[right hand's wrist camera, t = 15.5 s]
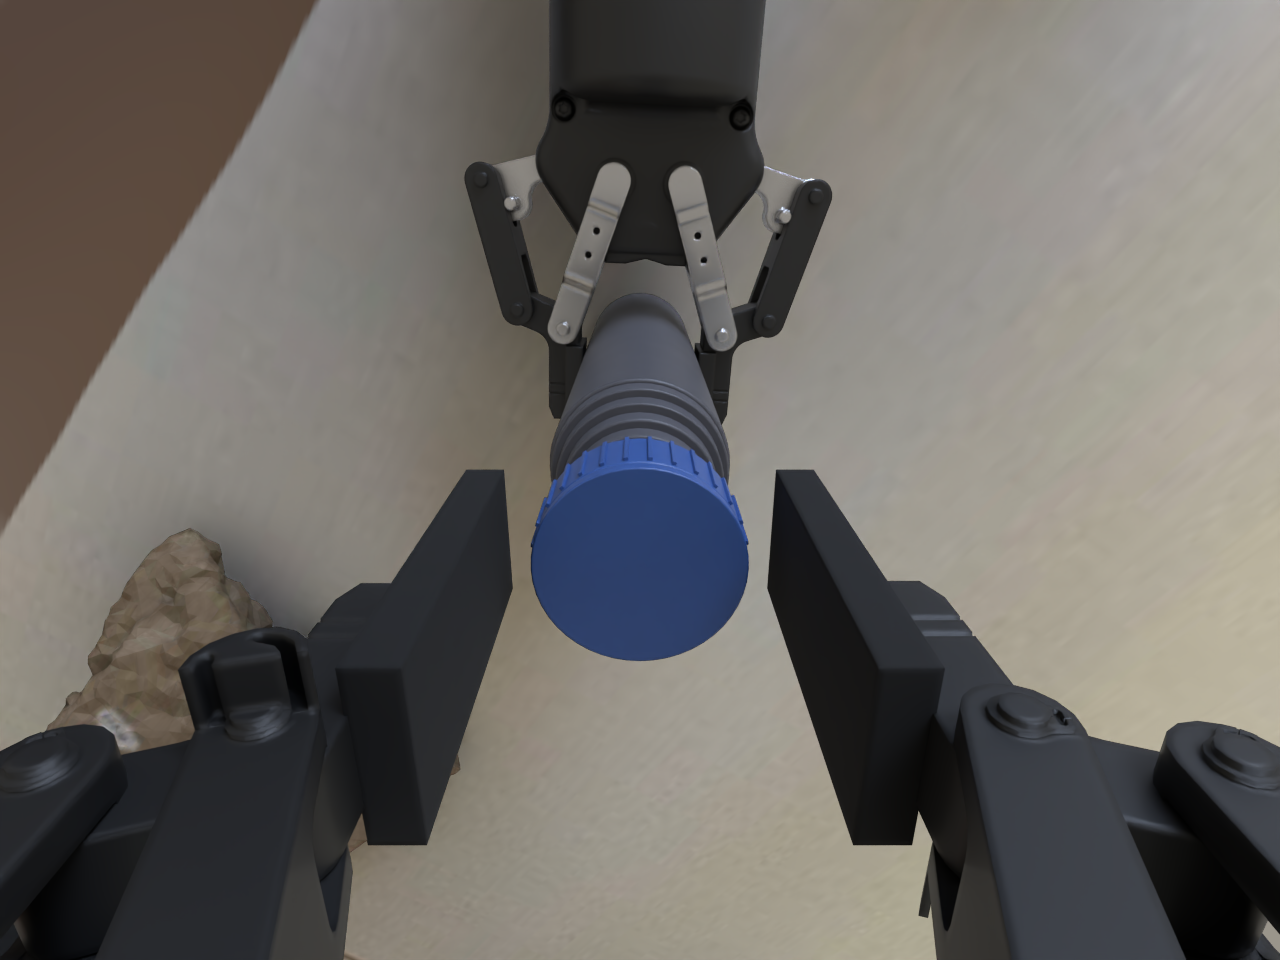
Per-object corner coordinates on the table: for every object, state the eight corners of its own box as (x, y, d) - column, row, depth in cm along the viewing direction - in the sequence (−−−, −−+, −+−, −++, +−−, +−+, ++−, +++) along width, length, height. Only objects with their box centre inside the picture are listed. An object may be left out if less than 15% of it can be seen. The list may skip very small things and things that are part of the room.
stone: (-2, 684, 39) (-71, 760, 33) (196, 504, 38) (159, 550, 33) (309, 852, 48) (295, 933, 42) (471, 707, 48) (477, 770, 42)
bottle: (697, 307, 35) (796, 478, 13) (672, 396, 36) (721, 684, 14) (605, 282, 34) (544, 415, 12) (584, 373, 36) (496, 634, 14)
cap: (766, 462, 14) (782, 496, 12) (706, 633, 16) (714, 683, 14) (564, 411, 14) (553, 439, 12) (522, 592, 15) (508, 638, 14)
